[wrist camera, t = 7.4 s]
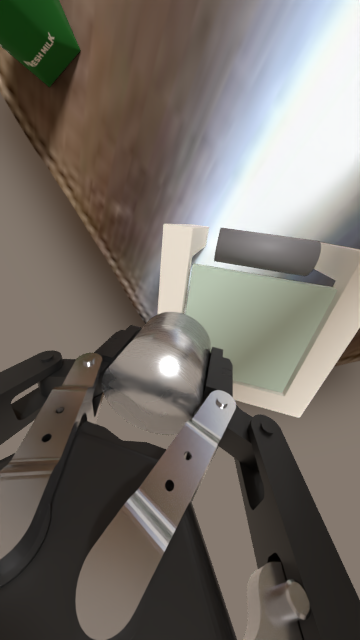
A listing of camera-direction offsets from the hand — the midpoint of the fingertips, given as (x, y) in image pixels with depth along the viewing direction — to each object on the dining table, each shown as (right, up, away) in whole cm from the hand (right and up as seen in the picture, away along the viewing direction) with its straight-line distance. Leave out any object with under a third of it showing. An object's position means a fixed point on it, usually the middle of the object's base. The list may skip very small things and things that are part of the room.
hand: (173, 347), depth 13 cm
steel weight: (0, 0, 0) cm, 0 cm away
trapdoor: (+9, +4, +13) cm, 16 cm away
